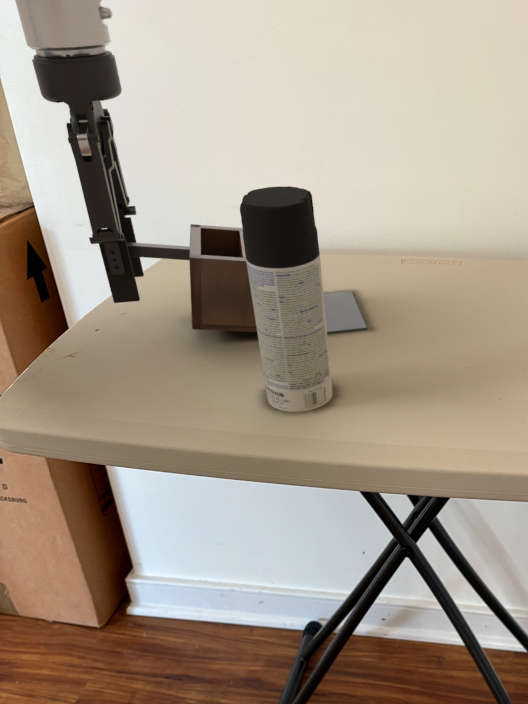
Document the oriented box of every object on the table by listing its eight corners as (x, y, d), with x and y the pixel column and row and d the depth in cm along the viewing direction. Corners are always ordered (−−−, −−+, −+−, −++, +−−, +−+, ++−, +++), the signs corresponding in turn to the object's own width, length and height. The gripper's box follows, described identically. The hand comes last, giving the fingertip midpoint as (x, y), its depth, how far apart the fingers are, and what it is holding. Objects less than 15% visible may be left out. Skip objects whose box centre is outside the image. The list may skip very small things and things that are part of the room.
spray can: (337, 386, 80) (319, 184, 67) (328, 419, 75) (306, 206, 62) (275, 386, 80) (245, 184, 68) (262, 418, 75) (227, 207, 62)
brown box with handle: (292, 231, 92) (110, 217, 87) (302, 264, 83) (99, 251, 78) (289, 296, 97) (116, 286, 92) (299, 334, 88) (107, 326, 83)
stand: (352, 298, 99) (351, 290, 98) (367, 335, 90) (367, 327, 89) (293, 304, 98) (293, 296, 97) (303, 342, 89) (302, 334, 88)
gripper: (102, 62, 65) (159, 319, 80) (120, 37, 80) (166, 256, 95) (10, 66, 64) (85, 326, 78) (46, 40, 79) (103, 261, 94)
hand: (129, 287), depth 87 cm, fingers closed on brown box with handle, 7 cm apart
